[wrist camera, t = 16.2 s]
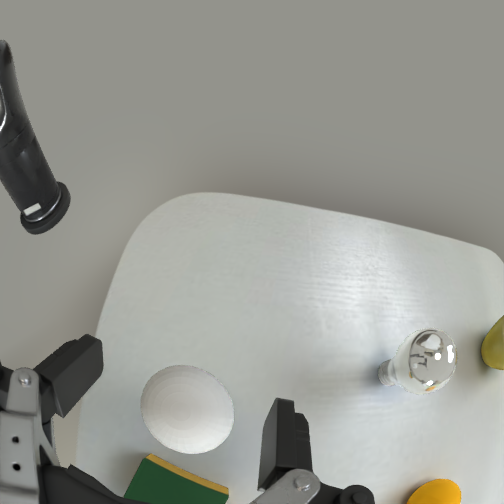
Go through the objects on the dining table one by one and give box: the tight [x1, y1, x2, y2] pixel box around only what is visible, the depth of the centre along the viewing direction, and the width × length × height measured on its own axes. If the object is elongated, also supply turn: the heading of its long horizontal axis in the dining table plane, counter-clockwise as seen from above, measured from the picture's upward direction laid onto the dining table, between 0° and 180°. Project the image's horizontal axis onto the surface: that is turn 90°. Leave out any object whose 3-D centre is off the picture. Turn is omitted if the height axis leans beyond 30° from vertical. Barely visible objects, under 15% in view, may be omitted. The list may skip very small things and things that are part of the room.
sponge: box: [124, 454, 229, 504], centre depth 18 cm, size 9×6×3 cm, turn 67°
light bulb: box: [378, 328, 457, 395], centre depth 23 cm, size 7×7×12 cm
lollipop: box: [141, 365, 234, 454], centre depth 18 cm, size 6×6×15 cm
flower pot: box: [481, 315, 504, 370], centre depth 27 cm, size 10×10×7 cm
